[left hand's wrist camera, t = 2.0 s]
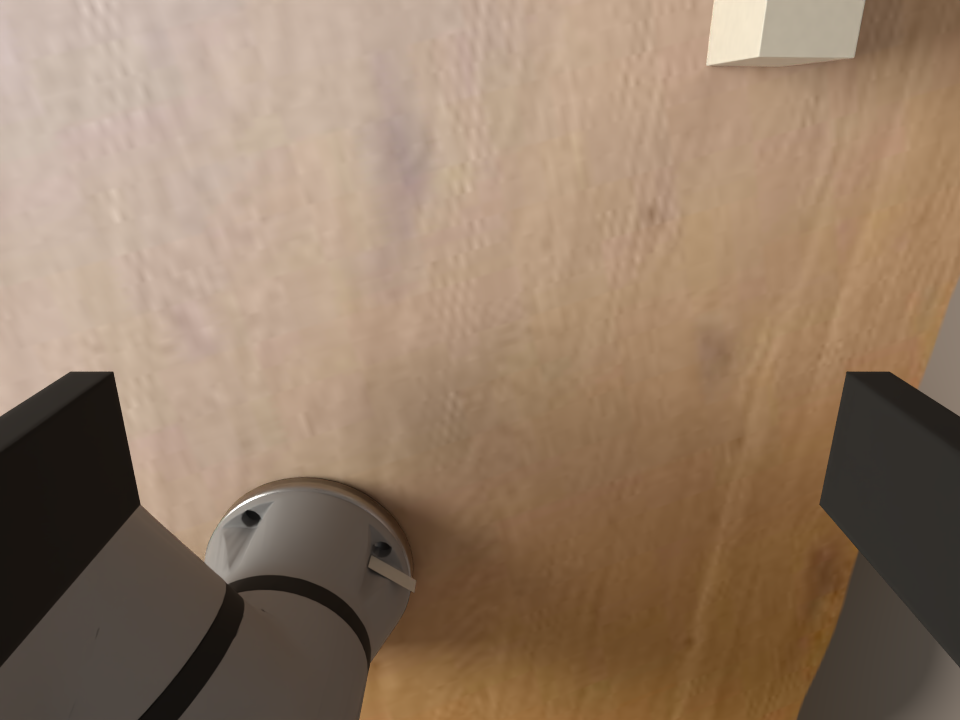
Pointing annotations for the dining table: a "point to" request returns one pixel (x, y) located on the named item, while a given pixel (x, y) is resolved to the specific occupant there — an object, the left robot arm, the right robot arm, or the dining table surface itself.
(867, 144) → the dining table surface
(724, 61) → the bar
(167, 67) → the dining table surface
